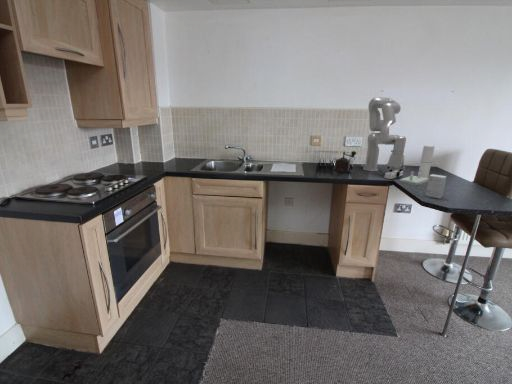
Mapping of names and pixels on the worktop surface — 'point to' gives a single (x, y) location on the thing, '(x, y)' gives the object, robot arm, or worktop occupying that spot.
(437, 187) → the small box
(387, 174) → the power strip
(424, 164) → the tall grey block
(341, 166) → the dark piece
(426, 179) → the mount board
